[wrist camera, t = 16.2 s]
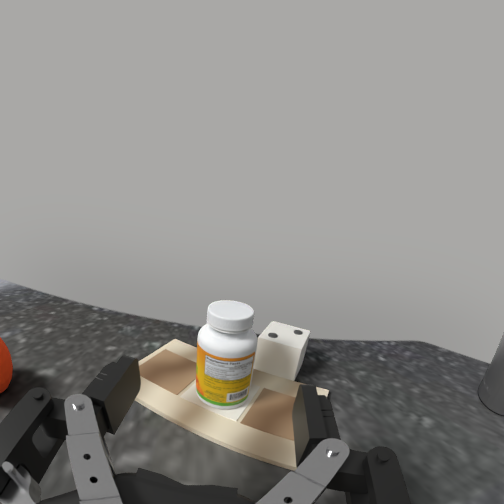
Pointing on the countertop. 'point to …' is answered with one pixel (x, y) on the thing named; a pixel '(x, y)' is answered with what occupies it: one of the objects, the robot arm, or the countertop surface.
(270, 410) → the board
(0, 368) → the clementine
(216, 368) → the supplement bottle
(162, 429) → the countertop surface
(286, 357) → the die
